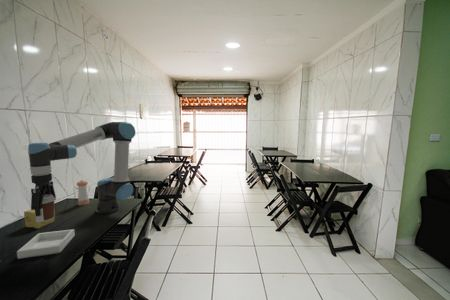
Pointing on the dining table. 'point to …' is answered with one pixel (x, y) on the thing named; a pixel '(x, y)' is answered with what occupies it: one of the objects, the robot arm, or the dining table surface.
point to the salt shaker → (82, 193)
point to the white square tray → (46, 243)
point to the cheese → (34, 220)
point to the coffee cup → (48, 207)
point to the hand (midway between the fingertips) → (45, 217)
